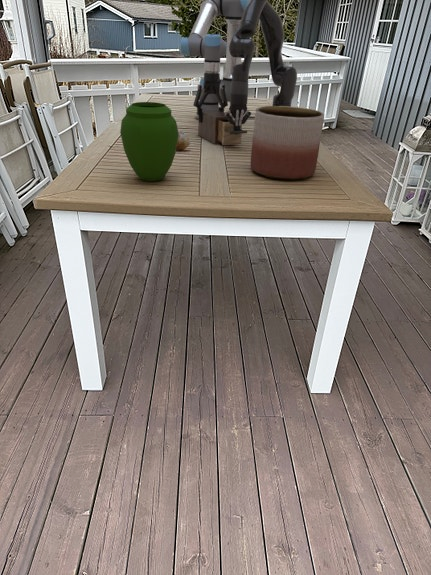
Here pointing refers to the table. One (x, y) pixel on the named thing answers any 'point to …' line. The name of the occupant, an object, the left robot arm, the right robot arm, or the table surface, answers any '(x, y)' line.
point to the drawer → (228, 133)
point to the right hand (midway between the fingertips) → (236, 134)
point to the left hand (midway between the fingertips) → (210, 121)
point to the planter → (286, 142)
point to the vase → (149, 139)
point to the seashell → (182, 141)
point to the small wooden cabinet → (210, 124)
